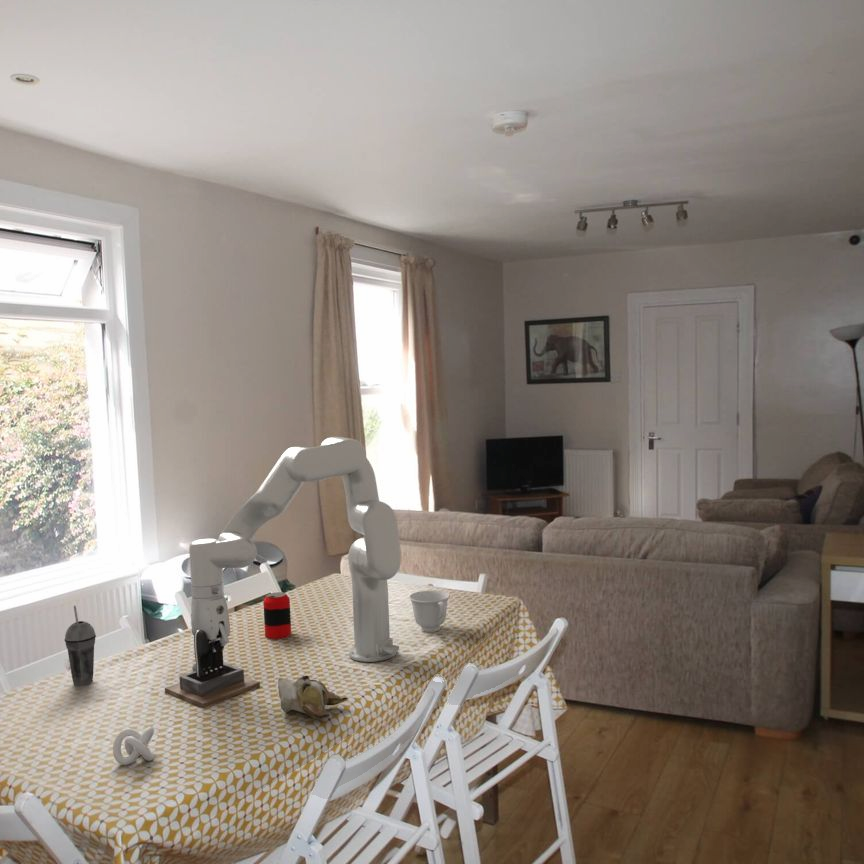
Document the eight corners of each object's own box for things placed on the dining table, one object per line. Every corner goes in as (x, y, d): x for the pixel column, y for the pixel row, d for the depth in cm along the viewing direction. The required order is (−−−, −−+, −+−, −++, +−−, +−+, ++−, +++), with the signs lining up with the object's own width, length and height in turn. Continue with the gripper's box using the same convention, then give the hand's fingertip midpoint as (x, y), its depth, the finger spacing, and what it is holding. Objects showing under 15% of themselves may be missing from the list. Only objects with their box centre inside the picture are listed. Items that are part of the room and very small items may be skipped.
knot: (134, 748, 162) (132, 720, 162) (167, 751, 160) (166, 723, 160) (109, 765, 155) (107, 736, 155) (143, 769, 153) (142, 740, 152)
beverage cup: (105, 678, 202) (100, 601, 201) (84, 689, 195) (79, 609, 194) (82, 676, 204) (77, 599, 203) (60, 686, 198) (55, 607, 196)
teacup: (426, 641, 223) (424, 606, 222) (403, 627, 236) (402, 594, 235) (463, 633, 228) (462, 599, 228) (439, 620, 242) (438, 588, 241)
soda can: (259, 637, 231) (257, 597, 230) (274, 630, 238) (272, 590, 237) (282, 640, 228) (280, 599, 227) (296, 632, 235) (294, 592, 234)
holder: (259, 685, 193) (259, 669, 193) (203, 707, 181) (202, 690, 181) (221, 672, 204) (220, 656, 204) (165, 691, 192) (164, 675, 191)
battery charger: (205, 679, 188) (202, 632, 188) (195, 676, 190) (192, 630, 190) (228, 670, 194) (225, 624, 193) (218, 667, 196) (215, 622, 195)
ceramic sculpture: (290, 662, 184) (349, 672, 179) (290, 698, 184) (348, 709, 179) (266, 680, 174) (327, 690, 169) (266, 718, 175) (327, 730, 170)
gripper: (241, 592, 188) (245, 667, 190) (201, 582, 199) (204, 654, 200) (214, 599, 183) (218, 677, 184) (174, 589, 194) (178, 662, 195)
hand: (211, 664), depth 192 cm, fingers closed on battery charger, 3 cm apart
